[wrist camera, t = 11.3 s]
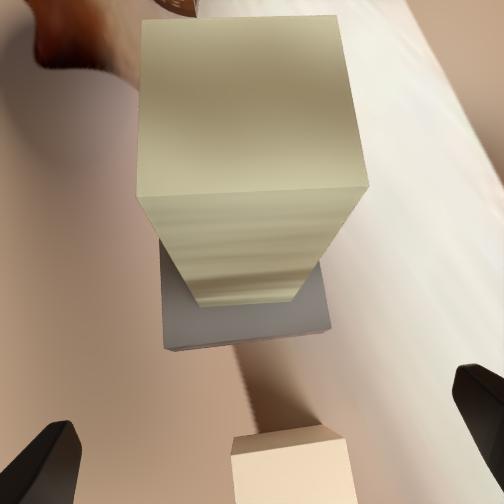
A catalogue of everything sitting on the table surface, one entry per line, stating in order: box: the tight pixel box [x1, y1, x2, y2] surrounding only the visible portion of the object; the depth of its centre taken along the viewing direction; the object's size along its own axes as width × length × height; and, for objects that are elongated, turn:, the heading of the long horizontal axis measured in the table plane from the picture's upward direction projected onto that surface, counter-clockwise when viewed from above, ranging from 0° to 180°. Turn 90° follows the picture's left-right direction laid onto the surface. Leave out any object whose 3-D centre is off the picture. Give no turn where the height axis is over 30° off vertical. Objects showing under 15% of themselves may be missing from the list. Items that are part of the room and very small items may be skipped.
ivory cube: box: [231, 424, 358, 504], centre depth 17 cm, size 5×5×5 cm
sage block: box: [136, 15, 369, 307], centre depth 15 cm, size 5×5×13 cm
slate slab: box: [159, 238, 331, 352], centre depth 22 cm, size 9×9×3 cm
